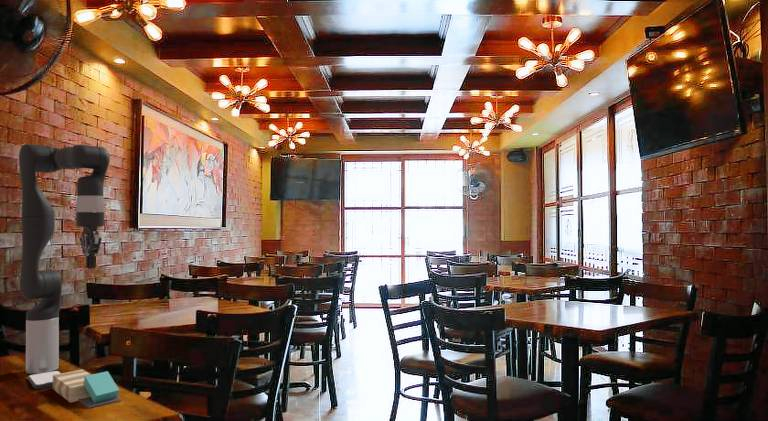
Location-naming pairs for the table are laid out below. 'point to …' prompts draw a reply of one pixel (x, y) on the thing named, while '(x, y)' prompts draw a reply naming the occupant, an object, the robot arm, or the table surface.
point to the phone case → (42, 379)
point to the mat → (90, 403)
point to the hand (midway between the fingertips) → (90, 268)
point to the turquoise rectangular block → (101, 386)
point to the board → (71, 385)
